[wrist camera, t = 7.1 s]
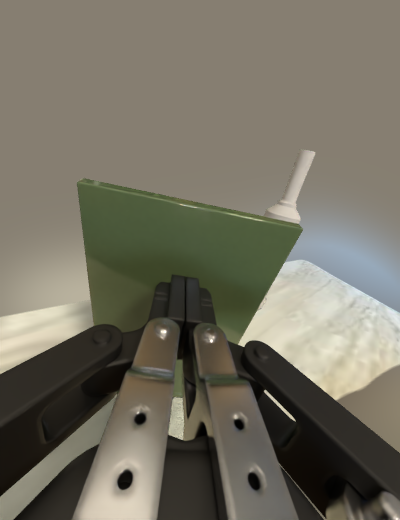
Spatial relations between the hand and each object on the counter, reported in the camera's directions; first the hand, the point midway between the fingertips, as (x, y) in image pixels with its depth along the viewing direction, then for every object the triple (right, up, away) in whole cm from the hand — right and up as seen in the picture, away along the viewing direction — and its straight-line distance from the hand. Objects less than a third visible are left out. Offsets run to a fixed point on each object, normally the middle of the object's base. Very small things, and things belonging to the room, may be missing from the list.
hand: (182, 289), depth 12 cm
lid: (0, 0, +2) cm, 2 cm away
